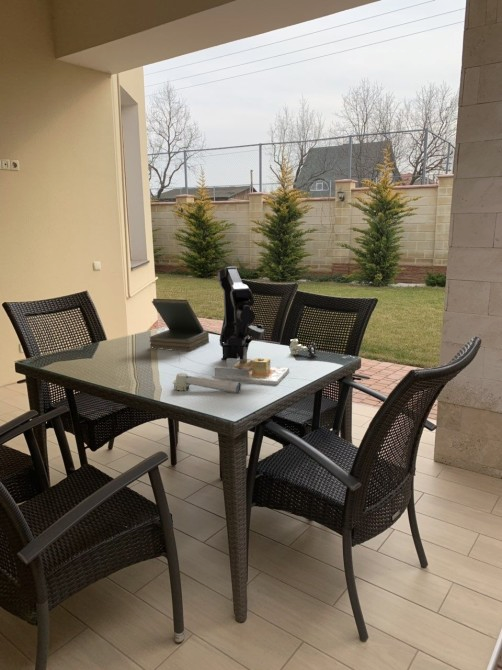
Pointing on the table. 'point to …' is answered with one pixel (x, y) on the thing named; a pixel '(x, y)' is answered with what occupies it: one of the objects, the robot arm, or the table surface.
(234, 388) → the beige flashlight
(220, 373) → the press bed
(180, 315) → the hinged lid box
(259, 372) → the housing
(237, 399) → the table surface
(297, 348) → the valve
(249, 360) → the ram
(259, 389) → the table surface
